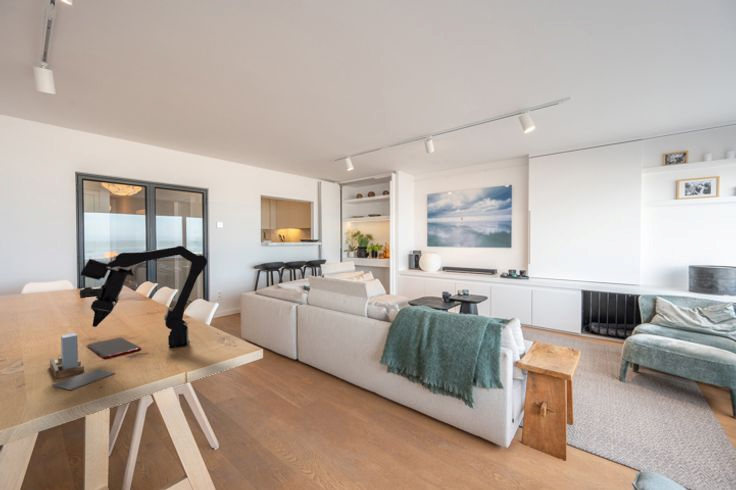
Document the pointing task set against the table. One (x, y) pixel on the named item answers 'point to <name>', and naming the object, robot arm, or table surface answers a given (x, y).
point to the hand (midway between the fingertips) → (96, 323)
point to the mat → (83, 379)
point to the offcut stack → (59, 361)
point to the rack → (62, 373)
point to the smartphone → (113, 348)
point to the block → (69, 351)
